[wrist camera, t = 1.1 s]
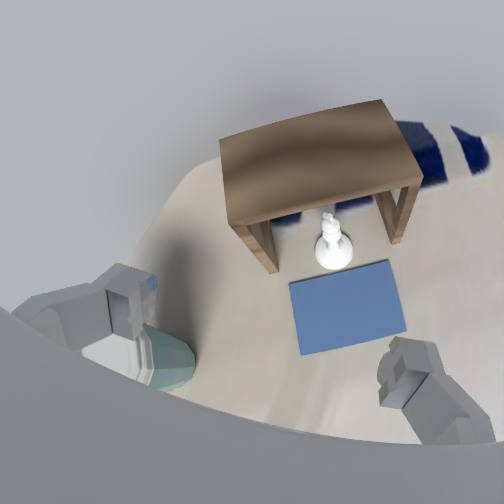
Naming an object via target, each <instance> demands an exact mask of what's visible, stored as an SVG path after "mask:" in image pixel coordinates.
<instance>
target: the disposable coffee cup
mask: <svg viewBox="0 0 504 504" xmlns="http://www.w3.org/2000/svg"><path fill="white" fill-rule="evenodd" d="M142 325H143V330H142V331H141V332H140V334H139V335H138V336H137V337H136V339H135V340H134V341H131V340H129V339H126V338H123V337H121V336H118V335H115V334H113V333H112V335H110V336H108V337H106V338H104V339H102V340H100V341H97V342H95V343H93V344H91V345H89V346H87V347H85V348H82V349H80V350H78V351H76V352H77V353H78V354H80V355H82V356H84V357H86V358H88V359H90V360H92V361H94V362H96V363H98V364H100V365H102V366H105V367H107V368H109V369H111V370H113V371H115V372H118V373H120V374H122V375H124V376H126V377H129V378H131V379H133V380H136V381H138V382H141V383H143V384H145V385H148V386H150V387H153V388H155V389H158V390H160V391H163V392H168V391H171V390H174V389H176V388H179V387H181V386H183V385H184V384H185V383H186V382H188V381H189V380H190V379H191V378H192V376H193V373H194V370H195V367H196V364H195V356H194V354H193V352H192V351H191V349H190V348H189V346H188V345H187V343H185V342H183V341H181V340H179V339H177V338H175V337H172V336H170V335H168V334H166V333H164V332H162V331H159V330H157V329H155V328H153V327H151V326H149V325H147V324H145V323H144V324H142Z"/></svg>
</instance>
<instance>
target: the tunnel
mask: <svg viewBox="0 0 504 504" xmlns="http://www.w3.org/2000/svg"><path fill="white" fill-rule="evenodd" d="M219 143H220V153H221V163H222V172H223V182H224V191H225V201H226V210H227V219H228V224H229V225H230V226H231V228H232V229H233V230H234V231H235V232H236V234H237V235H238V236H239V237H240V238H241V240H242V241H243V242H244V243H245V245H246V246H247V247H248V248H249V249H250V251H251V252H252V253H253V254H254V255H255V257H256V258H257V259H258V260H259V262H260V263H261V264H262V265H263V266H264V268H265V269H266V270H267V271H268V272H269V274H272V273H276V272H279V270H278V264H277V259H276V253H275V248H274V242H273V236H272V231H271V225H270V219H273V218H277V217H281V216H285V215H289V214H293V213H297V212H301V211H305V210H309V209H313V208H317V207H321V206H325V205H329V204H334V203H338V202H342V201H346V200H350V199H354V198H359V197H363V196H367V195H371V194H374V196H375V198H376V201H377V204H378V207H379V210H380V212H381V215H382V218H383V221H384V224H385V227H386V230H387V233H388V236H389V239H390V242H391V245H393V244H396V243H400V241H401V238H402V236H403V233H404V230H405V228H406V225H407V222H408V220H409V217H410V214H411V211H412V209H413V206H414V203H415V200H416V197H417V194H418V191H419V188H420V185H421V182H422V179H423V174H422V172H421V170H420V168H419V166H418V164H417V162H416V160H415V158H414V156H413V154H412V152H411V150H410V148H409V146H408V144H407V142H406V140H405V139H404V137H403V135H402V133H401V131H400V130H399V128H398V126H397V124H396V123H395V121H394V119H393V117H392V116H391V114H390V113H389V111H388V109H387V108H386V106H385V104H384V103H383V101H382V100H381V99H380V100H374V101H368V102H363V103H357V104H353V105H347V106H342V107H337V108H333V109H328V110H324V111H320V112H315V113H311V114H307V115H303V116H299V117H295V118H291V119H287V120H283V121H279V122H276V123H272V124H269V125H265V126H262V127H259V128H255V129H251V130H249V131H245V132H242V133H238V134H235V135H232V136H229V137H226V138H223V139H220V140H219ZM397 188H401V192H400V196H399V200H398V204H397V207H396V204H395V202H394V199H393V197H392V194H391V192H390V190H393V189H397Z"/></svg>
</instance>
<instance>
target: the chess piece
mask: <svg viewBox="0 0 504 504" xmlns="http://www.w3.org/2000/svg"><path fill="white" fill-rule="evenodd" d="M323 217H324V219H323V220H322V223H321V227H322V229H323V233H322V235H323V236H321V237H320V238H319V240H318V241H317V243H316V247H315V256H316V259H317V261H318V262H319V263H320V264H321V265H322V266H323V267H325V268H328V269H333V270H334V269H340V268H343V267H344V266H346V265H347V264H348V263H349V262H350V260H351V258H352V256H353V246H352V243H351V241H350V240H349V238H348V237H347V236H345V235H344V234H342V233H341V230H340V221H339V219H338V218H337V217H335V216H333V215H332V214H331V213H329V214H327V213H326V212H325V213H324V214H323Z"/></svg>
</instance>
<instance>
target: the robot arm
mask: <svg viewBox="0 0 504 504" xmlns="http://www.w3.org/2000/svg"><path fill="white" fill-rule="evenodd" d="M156 286H157V279H156V277H155V275H153V274H150V273H147V272H144V271H141V270H138V269H135V268H132V267H129V266H126V265H123V264H120V263H117V264H115V265H113V266H112V267H111V268H110V269H108V270H107V271H106V272H105V273H103V274H102V275H101V276H100V277H98V278H97V279H96V280H95V281H94V282H92V283H91V284H89V283H84V284H80V285H76V286H72V287H68V288H64V289H60V290H56V291H52V292H48V293H44V294H40V295H36V296H32V297H30V298H29V299H27V300H26V301H25V302H24V303H22V304H21V305H20V306H19V307H17V308H16V309H15V310H14V311H13V312H11V313H9V312H8V311H6V310H5V309H3V308H2V307H0V504H504V441H502V442H496V439H495V435H494V431H493V428H492V424H491V421H490V418H489V416H488V415H487V414H486V413H485V412H484V411H483V410H482V409H481V408H480V406H479V405H478V404H477V403H476V402H475V401H474V400H473V399H472V398H471V397H470V396H469V395H468V394H467V393H466V392H465V391H464V390H463V389H462V388H461V387H460V386H459V385H458V384H457V383H456V382H455V381H454V380H453V379H452V378H451V377H450V376H449V375H446V374H445V371H444V368H443V364H442V361H441V358H440V355H439V353H438V350H437V347H436V344H435V343H434V342H428V341H422V340H421V341H419V340H414V339H408V338H403V337H397V336H395V337H394V338H393V339H392V341H391V343H390V344H389V347H390V351H389V352H387V353H386V354H384V355H383V357H382V359H381V361H380V363H379V367H378V372H377V379H378V382H379V383H380V384H381V386H382V387H381V388H380V390H379V401H380V406H382V407H389V408H396V409H402V412H403V414H404V415H405V417H406V418H407V420H408V422H409V423H410V425H411V426H412V428H413V430H414V431H415V433H416V435H417V436H418V438H419V439H420V441H421V443H422V444H423V445H419V444H397V443H384V442H372V441H363V440H354V439H346V438H339V437H333V436H326V435H320V434H314V433H309V432H303V431H298V430H293V429H289V428H284V427H279V426H275V425H271V424H266V423H262V422H258V421H254V420H250V419H247V418H243V417H239V416H236V415H232V414H229V413H225V412H222V411H219V410H215V409H212V408H209V407H206V406H203V405H200V404H197V403H194V402H191V401H188V400H185V399H182V398H179V397H176V396H174V395H171V394H168V393H166V392H163V391H160V390H158V389H155V388H153V387H150V386H148V385H145V384H143V383H141V382H138V381H136V380H133V379H131V378H129V377H126V376H124V375H122V374H120V373H118V372H115V371H113V370H111V369H109V368H107V367H105V366H102V365H100V364H98V363H96V362H94V361H92V360H90V359H88V358H86V357H84V356H82V355H80V354H78V353H77V352H76V351H78V350H80V349H82V348H85V347H87V346H89V345H91V344H93V343H95V342H97V341H100V340H102V339H104V338H106V337H108V336H110V335H112V333H113V334H115V335H118V336H121V337H123V338H126V339H129V340H131V341H134V340H135V339H136V337H137V336H138V335H139V334H140V332H141V331H142V330H143V325H142V324H144V323H147V322H149V321H150V320H151V318H152V317H153V315H154V313H155V310H156V306H157V296H156V294H155V293H154V291H153V290H154V289H155V288H156Z"/></svg>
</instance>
